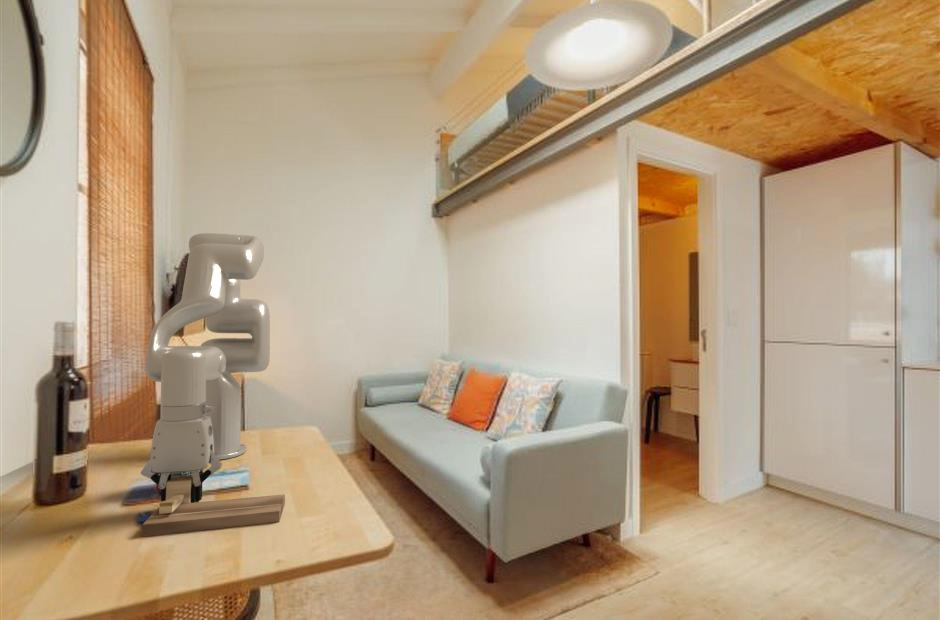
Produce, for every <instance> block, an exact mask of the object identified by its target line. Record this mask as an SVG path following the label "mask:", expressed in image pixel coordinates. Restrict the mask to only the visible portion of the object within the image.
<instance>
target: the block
mask: <svg viewBox="0 0 940 620" xmlns="http://www.w3.org/2000/svg"><path fill="white" fill-rule="evenodd" d="M193 483H194V482H193V477H192V475H182V476H174V477H172V478H171V479H170V480H169V481H168V482H166V501H162V502H161V501H160V502H159V505H158V506H159V507H158V508H159V514H164V513H172V512H173V511H174V510H175V509H176V508H177V507H178V506H179V505H180V504H184V503H191V487H192V486H193Z"/></svg>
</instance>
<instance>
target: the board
mask: <svg viewBox="0 0 940 620" xmlns="http://www.w3.org/2000/svg"><path fill="white" fill-rule="evenodd" d="M285 502H286V494H273V495H264V496H263V495H262V496H251V497H241V498H240V497H239V498H229V499H219V500H208V501H199V502H195V503H184V504H180V505H179V506H178V507H177V508H176V509H175V510H174V511H173V512H172V513H164V514H159V507H158V508H157V509H156V510H155V511H154V512H153V513H152V514H151V515H150V516H149V517H148V518H146V521H144V522H143V523H142V525H141V528H142V529H141V537H148V536H149V537H150V536H158V535H159V536H161V535H168V534H169V535H170V534H177V533H178V534H179V533H186V532H187V533H188V532H195V531H197V532H198V531H206V530H216V529H225V528H232V527H233V528H234V527H235V528H236V527H243V526H244V527H245V526H254V525H263V524H271V523H280V521H281V518H282V514H283V511H284V508H285V505H286V503H285Z"/></svg>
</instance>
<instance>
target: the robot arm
mask: <svg viewBox="0 0 940 620" xmlns="http://www.w3.org/2000/svg"><path fill="white" fill-rule="evenodd" d="M188 249H189V253H188V257H187V265H186V269H185V277H184V282H183V289H182V295H181V299H180V301H179V302H178V303H177V304H175V305H174V306H172V308H170V309H168V311H166V313H164V314H163V316H162V317H160V319H159V320H158V321H157V322H156V324H155V325H154V327H153V328H152V330H151V333H150V337H149V341H148V345H147V351H146V357H145V366H144V367H145V372H146V375H147V377H148V378H149V379H150V380H151V381H154V382H157V383H160V419H158V420H157V421H156V423H155V427H154V430H153V431H154V432H153V436H152V440H151V441H152V442H151V448H150V457H149V458H150V459H148V461H147V463H146V464H145V466H144V467H143V468H142V469H141V471H140V475H141V476H143V477H146V478H147V479H150V480H151V481H152V482H153V483H154V484H155V485H156V486H157V485H158V486H159V489H161V492H160V493H161V494H160V503H161V502H162V501H166V482H168V481H169V480H170V479H171V478H172V474H173V473H174V472H188V471H191V472H192V477H193V482H194V483H193V486H192V487H191V503H195V502H201V501H202V498H203V482H205V480H206V479H208V478H209V477H210V476H212V475H213V474H214V473H216V472H217V471H219V470H220V469H222V467H223V463H222V462H221V460H226V459H231V458H235V457H238V456H240V455H243V454H244V453H246V452H247V445H245V444H243V443H241V435H242V432H241V428H242V427H241V423H242V388H241V385H240V383H239V381H237V379H236V378H235V377H234V376H233V375H232V374H235V373H236V374H237V373H240V374H241V373H260V372H263V371H265V370H266V369H268V367H269V364H270V358H271V357H270V355H271V351H270V349H271V346H270V345H271V344H270V343H271V337H270V336H271V335H270V334H271V328H270V327H271V320H270V317H271V316H270V309H269V307H268V304H267V303H266V302H265V301H264V300H261V299H256V298H255V299H249V298H248V299H247V298H242V297H241V281H242V280H252V279H254V278H255V276H256V275H257V274H258V272H259V269H260V268H261V265H262V263H263V260H264V257H265V256H264V255H265V254H264V253H265V249H264V245H263V242H262V239H260V238H259V237H257V236H254V235H245V234H244V235H243V234H229V233H218V232H217V233H209V232H206V233H197V234H194V235H192V236H191V237H190V238H189V241H188ZM240 280H241V281H240ZM203 319H204V321H205V327H206V330H208V331H210V332H211V333H215V334H249V335H250V336H251V337H250V338H249V337H246V338H245V337H244V338H241V337H240V338H238V337H220V338H218V337H217V338H211V339H207V340H205V341H204V342H202V343H201V345H169V343H170V340H171V338H172V337H173V336H174V334H176V333H177V332H178V331H179V330H181V329H182V328H184V327H186V326H188V325H191V324H192V323H196V322H197V321H200V320H203ZM209 464H210V467H209ZM205 469H206V470H205ZM204 470H205V471H204Z"/></svg>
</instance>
